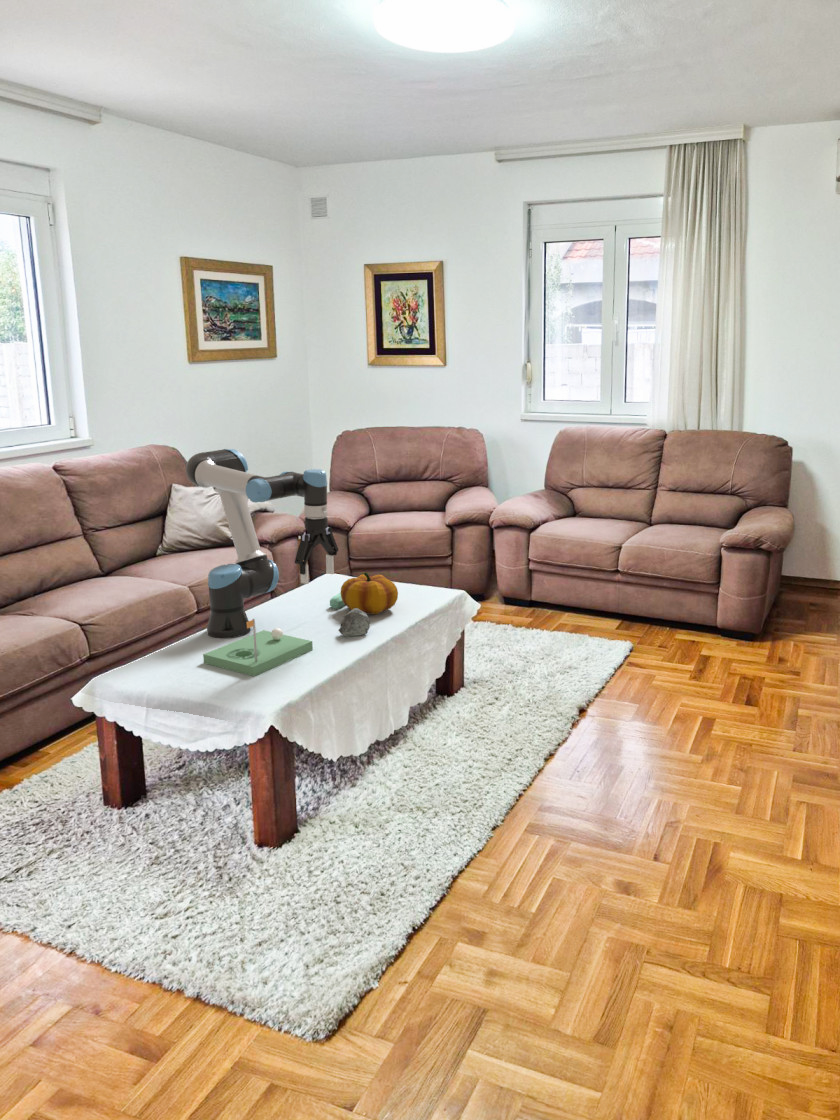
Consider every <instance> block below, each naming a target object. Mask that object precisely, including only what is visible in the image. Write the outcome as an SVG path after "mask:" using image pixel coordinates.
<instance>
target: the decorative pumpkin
mask: <svg viewBox="0 0 840 1120" xmlns="http://www.w3.org/2000/svg"><path fill="white" fill-rule="evenodd" d="M339 593H341V598H342V600H343V602H344V603H345V605H344V606H346V607H347V608H348V609H349V610H350V611H351V610H353V609H354V608H358V609H359V610H361V611H363V612H365V613H366V614H370V615H378V614H380V613H382V612H384V611H387V610H390V609H391V608H393V607H394V606H395V604H396V602H397V601H398V597H399V592H398V588H397V586H396V584H395V583H394V582H393V581H392V580H390V579H388V578H386V577H385V576H384V575H382V574H375V575H372V576H371V575H369V574H368V573H367V572H366V571H365V572H364V573H363V574H360V575H359V576H357V577H352V578H348V579H347V580H346V581H344V582H343V584H342V585H341V587H340V592H339Z"/></svg>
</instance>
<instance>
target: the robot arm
mask: <svg viewBox="0 0 840 1120" xmlns="http://www.w3.org/2000/svg"><path fill="white" fill-rule="evenodd" d="M248 465H249V464H248V462H247V460H246V458H245V456H244V455H243V454H242V452H240V451H238V450H237V449H234V448H230V449H229V448H223V449H218V450H211V451H204V452H199V453H195V454H193V455H192V456H191V457H190V458H189V459H188V460H187V462H186V465H185V469H184V470H185V475H186V478H187V480H189V482H190V483H191V484H193V485H194V486H197V487H202V488H206V489H208V488H210V487H212V488H213V491H214V492H216V493H217V494H218V495H219V497H220V501H221V503H222V507H223V511H224V515H225V518H226V522H227V524H228V527H229V530H230V535H231V539H232V542H233V545H234V549H235V552H236V555H237V559H236V561H235V562H234V563H228V564H222V565H219V566H216V567H213V568H212V569H211V570H210V571H209V572H208V576H207V577H208V578H207V579H208V580H207V586H208V595H209V596H208V597H209V606H210V607H209V608H210V613H209V616H208V617H209V618H208V623H207V625H206V633H207V636H209V637H211V638H219V639H231V638H237V637H241V636H245V635H246V634H248V633H250V631H251V627H250V628H248V629H247V622H248V621H249V619H248V618H249V617H248V614H247V613H246V611H245V604H244V603H245V601H244V600H246V599H249V598H253V597H257V596H260V595H264V594H267V593H269V592H272V591H274V590H275V588H276V587H277V586H278V583H279V578H280V573H279V568H278V566H277V563H275V561H273V560H272V559H269V558H268V555H267V553H265V552H263V551H262V550H261V547H260V542H259V539H258V535H257V533H256V529H255V525H254V522H253V519H252V515H251V512H250V508H249V504H248V502H247V499H246V497H247V498H248V500H250V502H252V503H255V504H256V503H265V502H269V501H272V500H273V501H274V500H278V499H283V498H289V497H295V496H296V497H301V498H303V499H304V501H303V502H304V503H303V504H304V507H303V508H304V511H303V512H304V513H303V514H304V516H305V517H304V528H305V529H306V531H307V532H306V534H304V533H301V534H300V540H299V546H298V548H297V552H296V556H295V559H294V564H297V565H299V574H300V584H305V585H309V580H310V579H309V564H307V563H308V561H309V559H310V556H311V554H312V552H313V550H314V548H316V546H319V545H321V546H322V548H323V549H324V550H325V551H326V553H327V554H326V555H325V566H326V567H325V571H326V574H328V575H334V574H335V556H337V555H338V552H339V547H338V545H337V542H336V540H335V537H334V535H333V527H329V525H328V524H329V523H328V522H329V521H328V519H329V518H328V479H327V472H326V471H325V470H323V469H320V468H319V469H316V468H314V469H313V468H310V469H306V470H304V471H303V473H299V472H296V471H295V472H294V471H283V472H281V473H280V474H278V475H274V476H273V475H272V476H261V475H258V474H254V473H250V472H248V470H249V466H248Z"/></svg>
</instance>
